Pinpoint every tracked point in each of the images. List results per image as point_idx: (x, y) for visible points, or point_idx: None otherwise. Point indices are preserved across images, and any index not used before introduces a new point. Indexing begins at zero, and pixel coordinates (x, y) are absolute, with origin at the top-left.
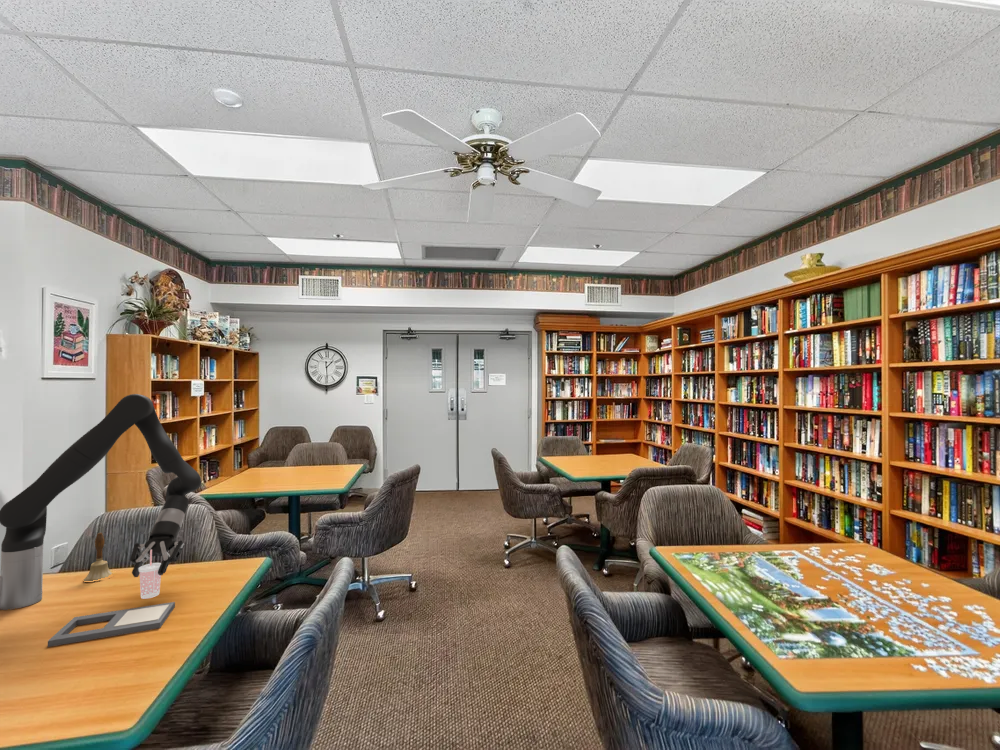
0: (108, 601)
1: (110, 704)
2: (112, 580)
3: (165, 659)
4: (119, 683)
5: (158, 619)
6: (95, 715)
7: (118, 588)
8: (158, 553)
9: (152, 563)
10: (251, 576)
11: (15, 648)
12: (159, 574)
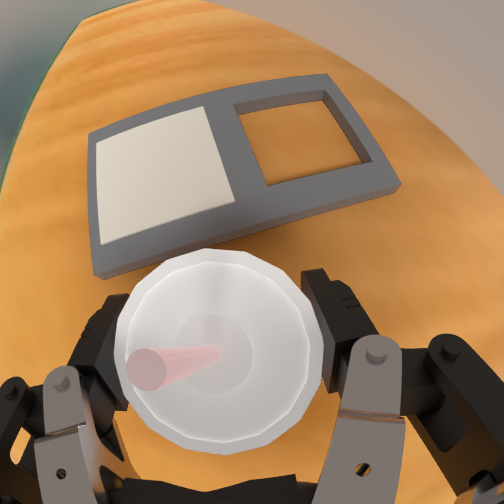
0: None
1: (106, 22)
2: None
3: (66, 72)
4: (109, 35)
5: (97, 145)
6: (114, 15)
7: None
8: (167, 487)
9: (252, 437)
10: None
11: (390, 95)
12: None
